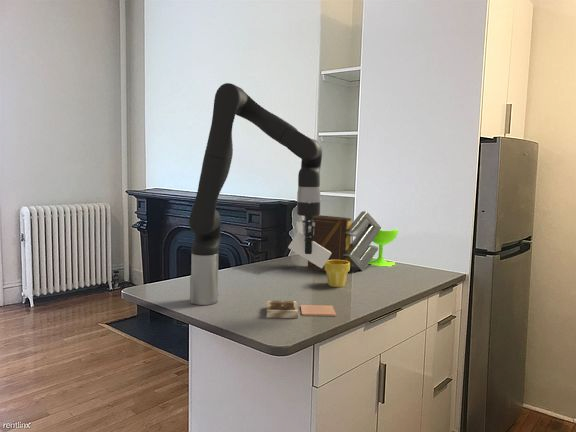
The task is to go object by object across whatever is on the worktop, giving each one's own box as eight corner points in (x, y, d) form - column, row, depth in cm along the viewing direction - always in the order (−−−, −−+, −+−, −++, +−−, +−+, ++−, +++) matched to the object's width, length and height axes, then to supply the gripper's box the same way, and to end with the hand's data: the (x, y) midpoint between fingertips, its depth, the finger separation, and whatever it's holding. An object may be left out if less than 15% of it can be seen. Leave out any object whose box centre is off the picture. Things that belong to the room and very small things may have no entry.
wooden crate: (351, 271, 227) (353, 218, 224) (343, 275, 220) (345, 219, 217) (310, 265, 238) (311, 214, 236) (301, 268, 231) (302, 215, 229)
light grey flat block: (321, 268, 161) (288, 248, 160) (321, 267, 164) (288, 246, 163) (331, 253, 161) (298, 232, 160) (330, 252, 163) (297, 231, 162)
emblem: (370, 265, 242) (372, 209, 239) (379, 267, 239) (382, 210, 236) (338, 274, 221) (341, 212, 218) (348, 276, 217) (351, 213, 214)
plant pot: (318, 285, 200) (319, 261, 199) (334, 281, 207) (334, 258, 206) (338, 290, 193) (339, 265, 192) (354, 285, 200) (355, 262, 199)
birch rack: (266, 317, 156) (266, 310, 156) (266, 307, 167) (267, 300, 167) (298, 318, 156) (298, 310, 156) (296, 307, 167) (296, 301, 167)
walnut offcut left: (270, 313, 158) (271, 302, 157) (270, 311, 160) (271, 300, 160) (281, 313, 158) (281, 302, 157) (281, 311, 160) (281, 300, 160)
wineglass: (383, 268, 235) (384, 231, 233) (357, 263, 247) (359, 227, 245) (402, 265, 246) (404, 229, 244) (377, 259, 258) (379, 225, 256)
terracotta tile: (302, 315, 159) (302, 313, 159) (300, 306, 169) (300, 305, 169) (336, 316, 159) (336, 314, 159) (332, 307, 169) (332, 305, 169)
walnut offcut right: (283, 313, 158) (283, 303, 157) (283, 311, 160) (283, 300, 160) (293, 313, 158) (294, 303, 158) (293, 311, 160) (293, 301, 160)
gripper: (296, 199, 167) (295, 249, 169) (298, 202, 153) (297, 257, 155) (318, 199, 167) (317, 249, 169) (322, 202, 153) (321, 257, 155)
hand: (308, 252), depth 162 cm, fingers closed on light grey flat block, 2 cm apart
